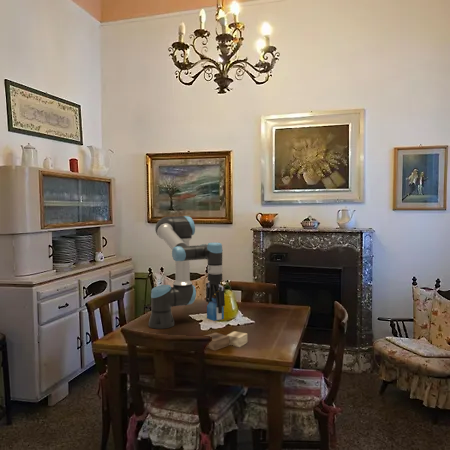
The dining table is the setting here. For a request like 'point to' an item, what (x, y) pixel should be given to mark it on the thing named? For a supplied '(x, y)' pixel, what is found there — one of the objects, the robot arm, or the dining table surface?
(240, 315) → the dining table surface
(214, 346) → the walnut block
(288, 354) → the dining table surface
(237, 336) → the beech block
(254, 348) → the dining table surface
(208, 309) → the blue carton
